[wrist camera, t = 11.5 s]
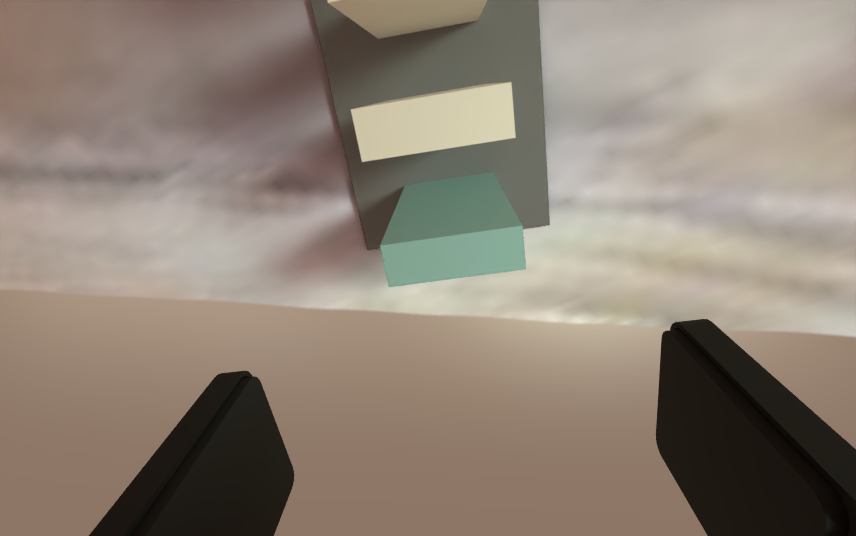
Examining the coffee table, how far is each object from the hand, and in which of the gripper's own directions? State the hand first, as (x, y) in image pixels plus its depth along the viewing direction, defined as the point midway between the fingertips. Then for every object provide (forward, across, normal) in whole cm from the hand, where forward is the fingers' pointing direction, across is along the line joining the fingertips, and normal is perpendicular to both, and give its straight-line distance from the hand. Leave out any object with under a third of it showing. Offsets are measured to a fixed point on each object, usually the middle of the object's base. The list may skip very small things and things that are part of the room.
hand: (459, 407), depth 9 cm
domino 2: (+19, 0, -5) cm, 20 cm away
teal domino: (+19, 0, 0) cm, 19 cm away
